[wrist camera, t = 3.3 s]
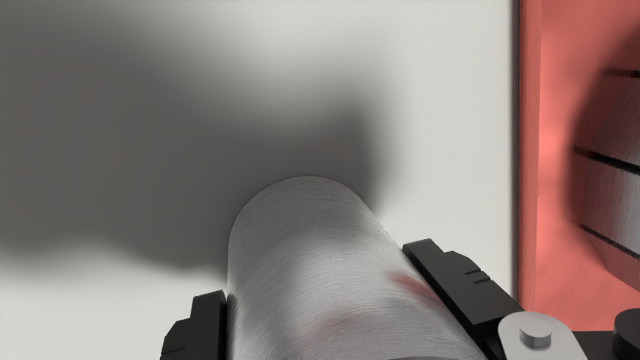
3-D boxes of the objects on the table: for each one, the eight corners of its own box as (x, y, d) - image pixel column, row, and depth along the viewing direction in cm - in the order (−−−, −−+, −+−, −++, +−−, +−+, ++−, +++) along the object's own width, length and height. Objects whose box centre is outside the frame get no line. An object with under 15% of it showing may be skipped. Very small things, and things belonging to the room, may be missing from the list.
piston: (209, 193, 13) (144, 599, 4) (366, 159, 13) (660, 425, 4) (246, 326, 15) (267, 828, 5) (383, 290, 15) (617, 681, 6)
